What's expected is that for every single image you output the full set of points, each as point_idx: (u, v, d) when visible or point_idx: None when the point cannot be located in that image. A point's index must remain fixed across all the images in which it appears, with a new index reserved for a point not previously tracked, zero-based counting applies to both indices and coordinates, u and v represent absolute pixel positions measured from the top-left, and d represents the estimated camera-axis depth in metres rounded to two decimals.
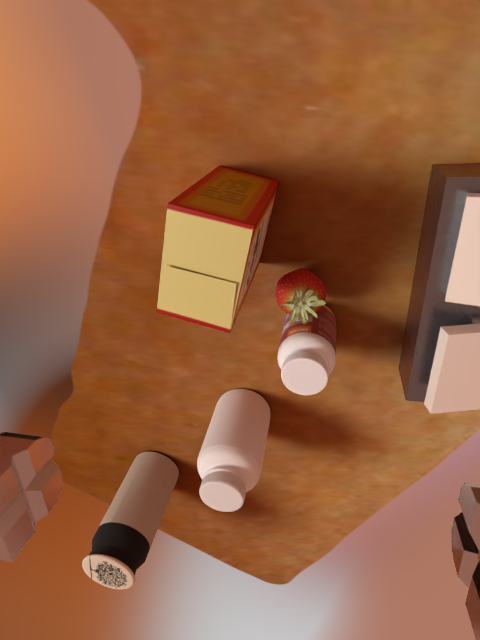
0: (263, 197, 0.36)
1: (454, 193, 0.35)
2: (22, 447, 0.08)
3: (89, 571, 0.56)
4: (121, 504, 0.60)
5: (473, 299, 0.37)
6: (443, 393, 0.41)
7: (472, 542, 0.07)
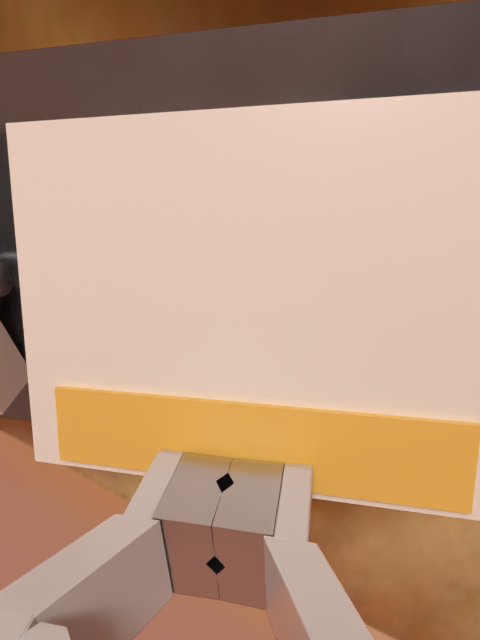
0: None
1: None
2: (219, 470, 0.07)
3: None
4: None
5: (41, 241, 0.08)
6: None
7: None
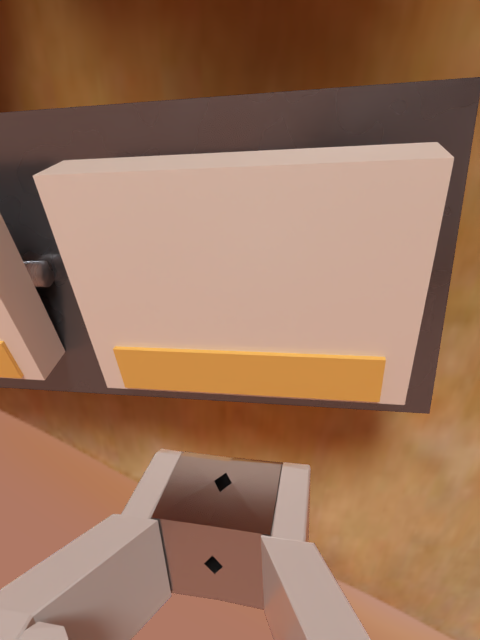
0: None
1: (419, 119, 0.11)
2: (217, 470, 0.07)
3: None
4: None
5: (81, 259, 0.11)
6: None
7: None
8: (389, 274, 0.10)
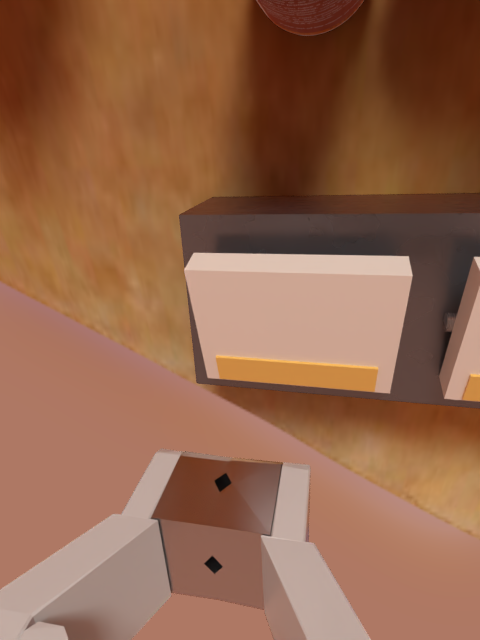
0: None
1: None
2: (217, 470, 0.07)
3: None
4: None
5: None
6: (242, 287, 0.18)
7: None
8: None
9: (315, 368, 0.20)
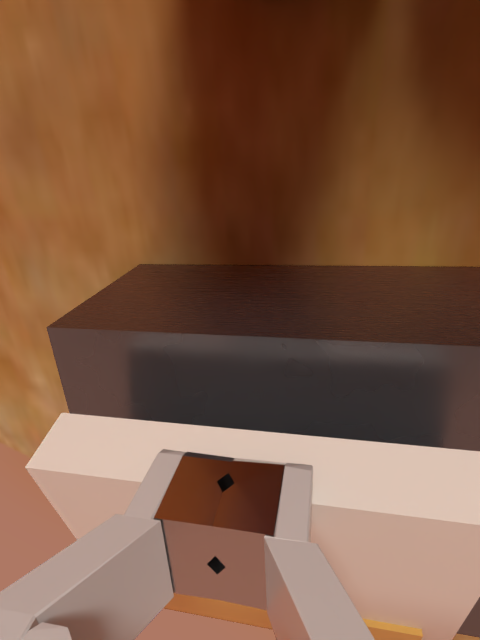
0: None
1: None
2: (220, 470, 0.07)
3: None
4: None
5: None
6: None
7: None
8: None
9: None
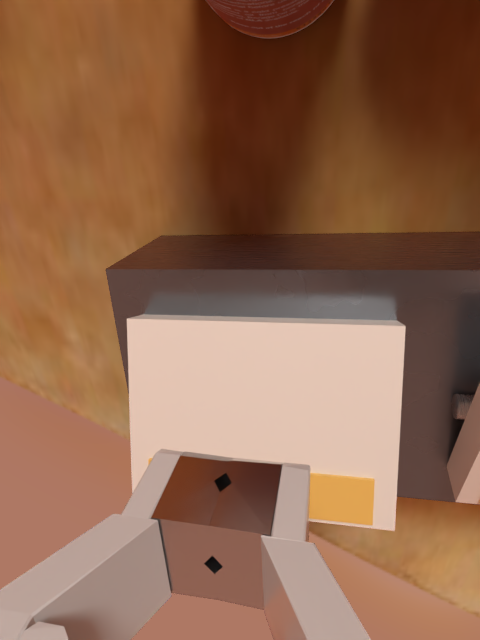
0: None
1: None
2: (217, 470, 0.07)
3: None
4: None
5: None
6: (195, 344, 0.14)
7: None
8: None
9: None
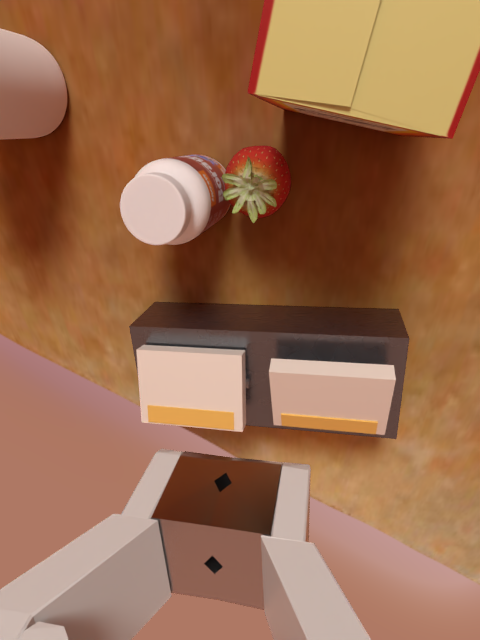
0: None
1: (390, 347, 0.33)
2: (217, 470, 0.07)
3: None
4: None
5: (277, 390, 0.34)
6: (164, 360, 0.36)
7: None
8: (378, 401, 0.32)
9: (201, 412, 0.36)
